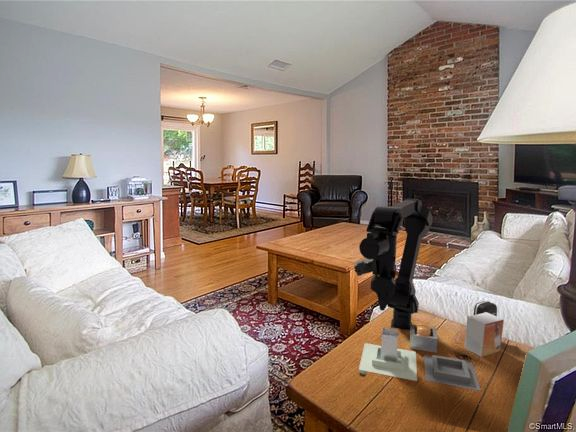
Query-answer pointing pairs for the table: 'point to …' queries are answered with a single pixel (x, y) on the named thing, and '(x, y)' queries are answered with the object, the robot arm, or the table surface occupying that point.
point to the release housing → (423, 340)
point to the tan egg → (423, 330)
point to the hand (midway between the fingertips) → (382, 303)
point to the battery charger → (485, 308)
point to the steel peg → (389, 344)
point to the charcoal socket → (450, 372)
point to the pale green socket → (388, 363)
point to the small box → (483, 334)
